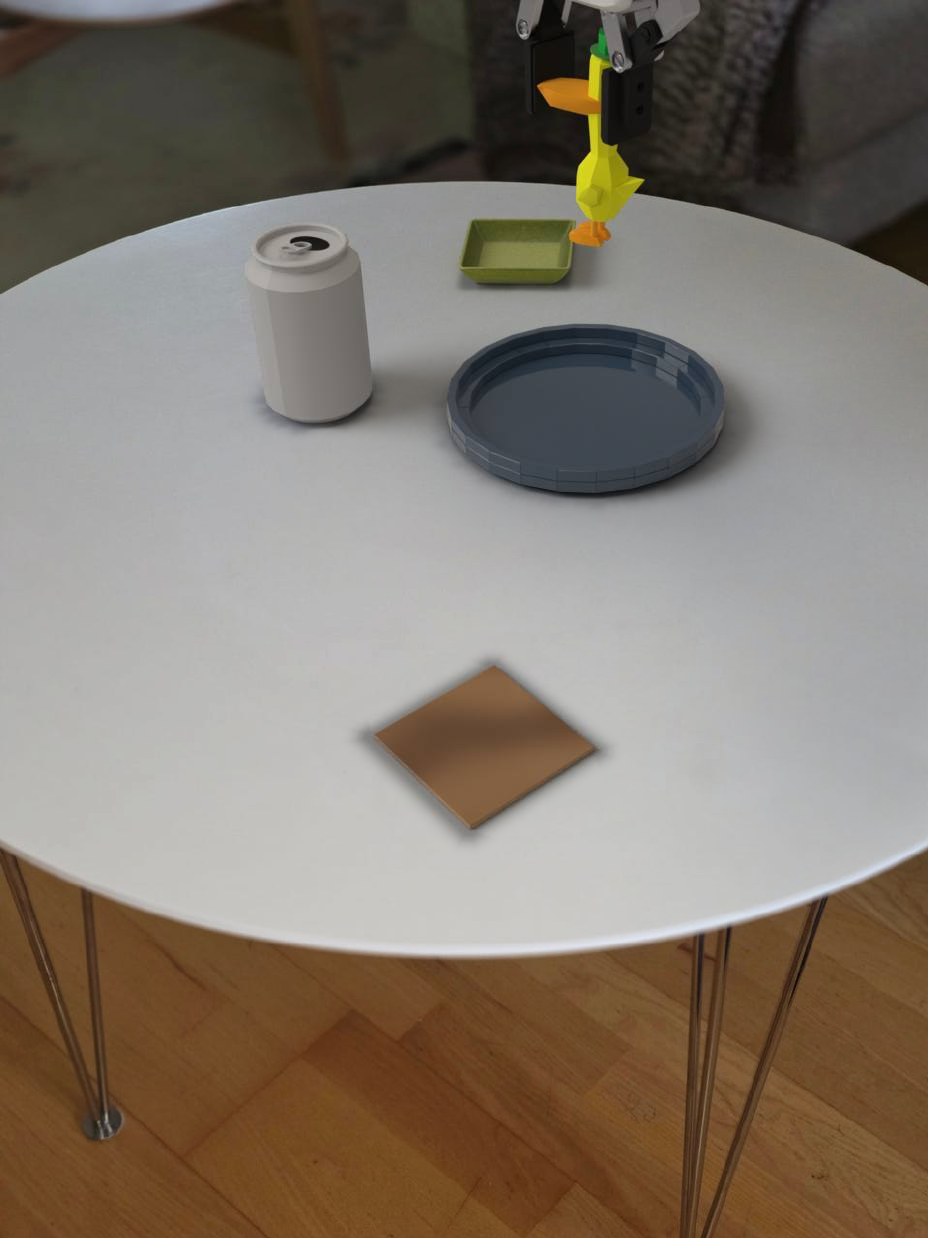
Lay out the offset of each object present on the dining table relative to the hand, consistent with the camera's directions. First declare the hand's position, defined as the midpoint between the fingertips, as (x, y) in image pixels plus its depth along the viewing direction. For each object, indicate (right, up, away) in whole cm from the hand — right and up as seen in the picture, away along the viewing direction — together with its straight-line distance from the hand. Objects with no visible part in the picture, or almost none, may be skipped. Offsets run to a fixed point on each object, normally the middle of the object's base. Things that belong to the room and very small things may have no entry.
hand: (587, 119), depth 76 cm
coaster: (-6, -34, -7) cm, 35 cm away
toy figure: (0, -5, +5) cm, 7 cm away
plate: (+1, -14, +16) cm, 21 cm away
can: (-17, -13, +19) cm, 28 cm away
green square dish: (-3, 0, +33) cm, 33 cm away
